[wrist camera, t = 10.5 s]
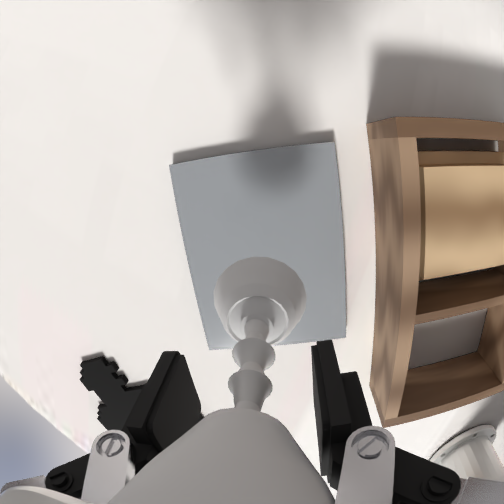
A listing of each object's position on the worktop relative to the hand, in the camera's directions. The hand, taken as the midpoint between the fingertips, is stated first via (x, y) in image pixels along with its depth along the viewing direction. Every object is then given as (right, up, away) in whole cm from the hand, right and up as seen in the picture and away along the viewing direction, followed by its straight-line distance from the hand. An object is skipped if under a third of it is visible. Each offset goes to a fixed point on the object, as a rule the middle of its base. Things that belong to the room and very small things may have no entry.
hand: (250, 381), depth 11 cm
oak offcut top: (+16, +8, +9) cm, 20 cm away
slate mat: (+1, +5, +14) cm, 14 cm away
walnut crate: (+17, +3, +13) cm, 22 cm away
